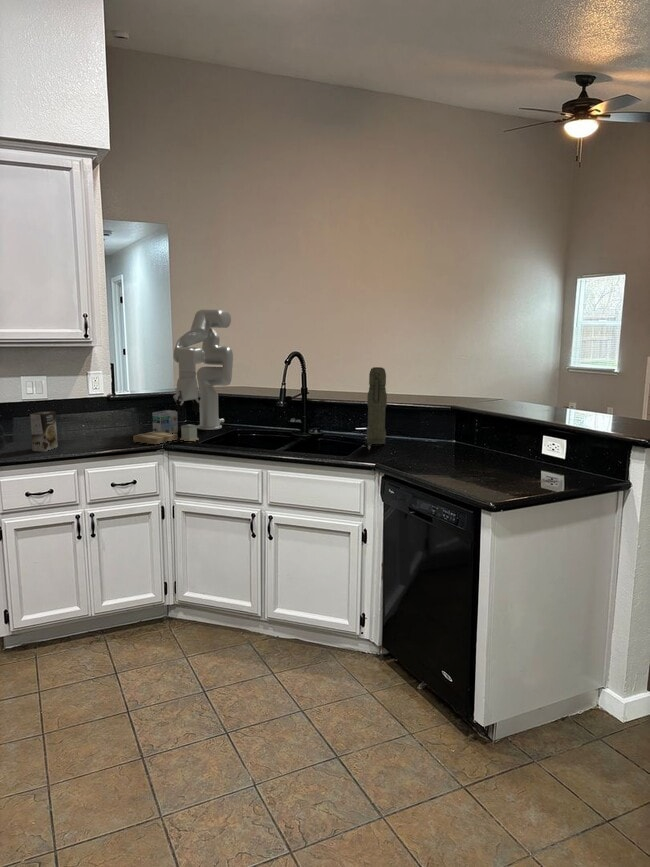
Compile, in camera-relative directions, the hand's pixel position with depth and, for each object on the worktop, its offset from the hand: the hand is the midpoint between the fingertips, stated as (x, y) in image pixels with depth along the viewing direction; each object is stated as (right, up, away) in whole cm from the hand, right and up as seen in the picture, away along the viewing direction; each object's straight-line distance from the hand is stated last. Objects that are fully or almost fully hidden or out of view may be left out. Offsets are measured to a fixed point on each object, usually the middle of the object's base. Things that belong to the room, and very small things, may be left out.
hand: (188, 412), depth 296 cm
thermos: (+87, -15, +1) cm, 88 cm away
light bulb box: (-15, -10, +21) cm, 28 cm away
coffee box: (-58, -17, -18) cm, 63 cm away
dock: (-15, -13, +1) cm, 20 cm away
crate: (0, -13, +3) cm, 13 cm away
